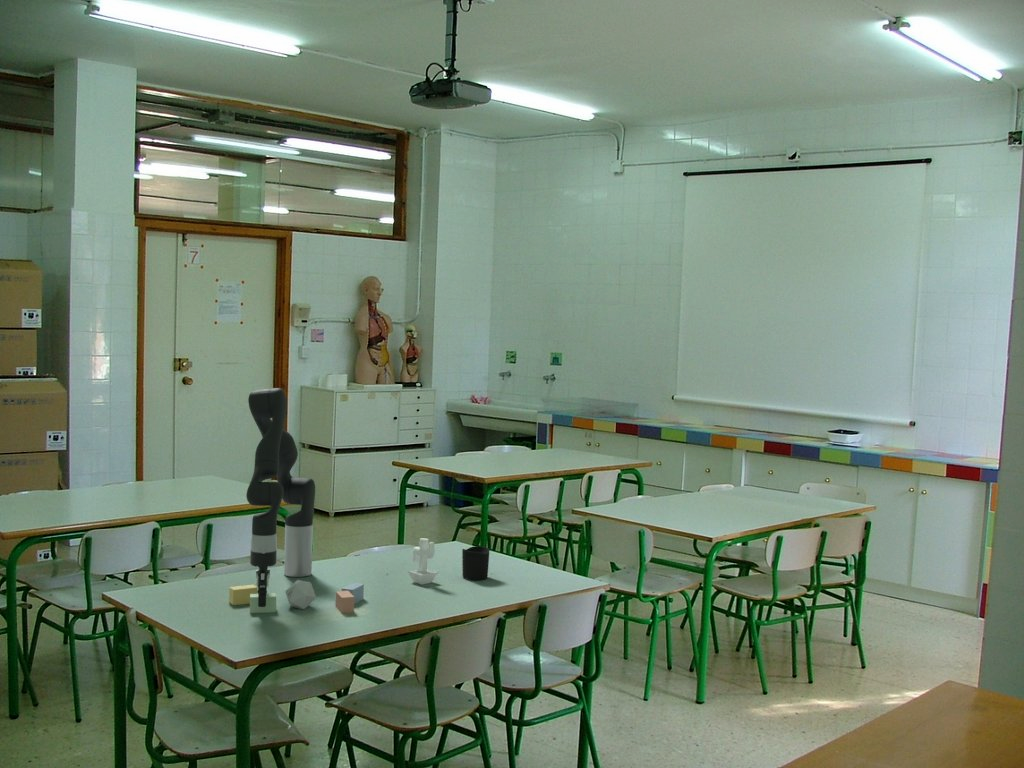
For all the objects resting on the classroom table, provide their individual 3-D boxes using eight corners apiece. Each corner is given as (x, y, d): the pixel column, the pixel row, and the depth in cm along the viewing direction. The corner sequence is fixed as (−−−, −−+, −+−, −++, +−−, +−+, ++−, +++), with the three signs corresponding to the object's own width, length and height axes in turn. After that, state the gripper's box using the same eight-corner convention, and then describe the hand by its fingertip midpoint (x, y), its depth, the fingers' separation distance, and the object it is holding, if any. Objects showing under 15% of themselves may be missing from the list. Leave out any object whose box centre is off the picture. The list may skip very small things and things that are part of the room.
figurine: (421, 578, 344) (423, 534, 343) (439, 583, 337) (441, 539, 336) (405, 581, 339) (406, 537, 338) (423, 586, 332) (425, 542, 331)
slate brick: (341, 603, 309) (341, 588, 309) (352, 598, 316) (353, 582, 316) (352, 605, 308) (352, 589, 307) (363, 599, 315) (363, 584, 314)
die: (289, 604, 308) (277, 583, 302) (314, 589, 310) (303, 568, 305) (298, 620, 301) (286, 599, 296) (323, 605, 304) (312, 584, 298)
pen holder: (490, 581, 343) (491, 552, 343) (462, 581, 342) (463, 552, 341) (486, 574, 352) (487, 546, 352) (460, 574, 351) (461, 546, 351)
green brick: (249, 609, 299) (250, 594, 298) (275, 609, 301) (275, 593, 300) (249, 613, 295) (250, 597, 295) (275, 612, 297) (276, 596, 297)
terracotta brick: (341, 613, 298) (341, 597, 298) (335, 607, 305) (335, 591, 305) (353, 612, 300) (354, 596, 299) (347, 606, 307) (348, 590, 306)
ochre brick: (229, 602, 306) (229, 587, 305) (253, 599, 310) (253, 584, 310) (232, 605, 303) (233, 590, 302) (257, 602, 307) (257, 587, 306)
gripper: (251, 544, 303) (249, 597, 304) (249, 554, 289) (248, 609, 290) (276, 543, 305) (275, 596, 305) (276, 553, 291) (275, 609, 291)
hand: (262, 602), depth 297 cm, fingers open, 8 cm apart
